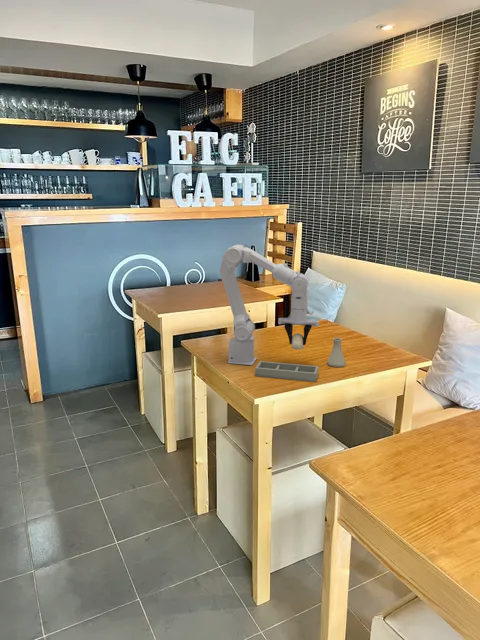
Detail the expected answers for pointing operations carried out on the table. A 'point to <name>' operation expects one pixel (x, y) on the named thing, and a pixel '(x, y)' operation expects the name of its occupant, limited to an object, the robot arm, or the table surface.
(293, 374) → the gray compartment tray
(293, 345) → the beige domed cylinder
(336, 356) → the flask
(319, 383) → the table surface
